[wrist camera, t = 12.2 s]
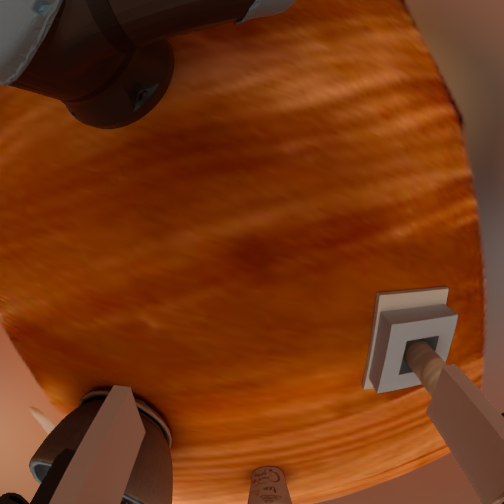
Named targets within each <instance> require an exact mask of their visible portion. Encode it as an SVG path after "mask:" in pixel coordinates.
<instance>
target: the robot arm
mask: <svg viewBox="0 0 504 504" xmlns="http://www.w3.org/2000/svg"><path fill="white" fill-rule="evenodd" d="M295 2H296V0H0V84H1V85H10V86H13V87H17V88H21V89H24V90H28V91H31V92H35V93H38V94H42V95H45V96H48V97H52V98H55V99H58V100H61V101H62V102H63V103H64V104H65V105H66V107H67V108H68V110H69V111H70V113H71V114H72V115H73V116H74V117H75V118H76V119H77V120H79V121H80V122H82V123H84V124H87V125H90V126H93V127H97V128H102V129H113V128H119V127H122V126H125V125H128V124H130V123H133V122H134V121H136V120H138V119H140V118H141V117H143V116H144V115H145V114H147V113H148V112H149V111H150V110H151V109H152V108H153V107H154V106H155V105H156V104H157V103H158V101H159V100H160V99H161V98H162V96H163V95H164V93H165V91H166V89H167V88H168V85H169V83H170V80H171V77H172V73H173V68H174V58H173V52H172V49H171V46H170V44H169V43H168V41H167V40H166V39H169V38H172V37H176V36H179V35H183V34H187V33H190V32H194V31H198V30H202V29H207V28H211V27H216V26H220V25H225V24H230V23H233V24H241V23H244V22H245V21H247V20H249V19H254V18H259V17H265V16H271V15H277V14H280V13H282V12H284V11H286V10H287V9H288V8H289V7H290V6H291V5H292V4H294V3H295ZM426 413H427V414H428V416H429V417H430V419H431V420H432V422H433V423H434V425H435V426H436V428H437V430H438V431H439V433H440V434H441V436H442V437H443V439H444V441H445V442H446V444H447V445H448V447H449V448H450V450H451V452H452V453H453V455H454V456H455V458H456V460H457V461H458V463H459V465H460V466H461V468H462V470H463V471H464V473H465V475H466V476H467V478H468V480H469V481H470V483H471V485H472V487H473V488H474V490H475V491H476V493H477V495H478V497H479V499H480V501H481V502H482V504H496V503H497V502H499V501H500V500H501V499H502V498H503V497H504V413H502V414H500V413H499V411H498V410H497V409H496V408H495V407H494V406H493V405H492V403H491V402H490V401H489V400H488V399H487V398H486V397H485V396H484V394H483V393H482V392H481V391H480V390H479V389H478V388H477V387H476V386H475V385H474V384H473V382H472V381H471V380H470V379H469V378H468V377H467V376H466V375H465V374H464V373H463V372H462V371H461V370H460V369H459V368H458V366H457V365H456V364H452V365H449V366H445V367H442V370H441V373H440V376H439V379H438V382H437V385H436V387H435V390H434V393H433V396H432V398H431V401H430V403H429V406H428V409H427V411H426ZM145 432H146V431H145V429H144V426H143V423H142V420H141V418H140V415H139V412H138V409H137V406H136V403H135V400H134V397H133V393H132V390H131V387H126V386H118V385H114V386H113V388H112V389H111V391H110V393H109V394H108V396H107V398H106V399H105V401H104V403H103V405H102V406H101V408H100V410H99V412H98V413H97V415H96V417H95V418H94V420H93V422H92V424H91V426H90V427H89V429H88V431H87V433H86V434H85V436H84V438H83V440H82V442H81V444H80V445H79V447H78V449H77V451H74V450H71V449H67V448H66V449H65V450H63V451H62V452H61V453H60V454H58V455H57V456H56V458H55V460H54V461H53V463H52V465H51V468H49V470H48V472H47V476H45V477H44V479H43V481H42V483H41V484H40V486H39V488H38V490H37V492H36V494H35V496H34V497H33V499H32V501H31V502H30V504H120V503H121V500H122V497H123V494H124V491H125V489H126V486H127V483H128V480H129V477H130V474H131V471H132V468H133V466H134V463H135V460H136V457H137V454H138V452H139V449H140V446H141V443H142V441H143V438H144V435H145ZM0 504H29V503H28V502H27V501H26V500H25V499H24V498H23V497H22V496H21V495H19V494H16V493H6V494H3V495H2V496H1V497H0ZM502 504H504V502H503V503H502Z"/></svg>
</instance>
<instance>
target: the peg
mask: <svg viewBox="0 0 504 504" xmlns="http://www.w3.org/2000/svg"><path fill="white" fill-rule="evenodd" d="M403 359H404V360H405V361H406V363H407V364H408V365H409V367H410V368H411V369H412V371H413V372H414V373H415V375H416V376H417V377H418V379H419V380H420V381H421V383H422V384H423V385H424V387H425V388H426V390H427V391H428V392H429V394H430V395H431V396H433V393H434V390H435V387H436V385H437V382H438V379H439V376H440V373H441V370H442V367H445V366H448V365H447V364H446V363H445V362H444V361H443V359H442V358H441V357H440V356H439V355H438V354H437V353H436V352H435V351H434V350H433V349H432V348H431V347H430V346H429V345H428V343H427V342H426V341H425V340H424V339H423V338H422V339H417V340H411V341H407V342H406V346H405V351H404V355H403Z"/></svg>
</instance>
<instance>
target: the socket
mask: <svg viewBox="0 0 504 504" xmlns="http://www.w3.org/2000/svg"><path fill="white" fill-rule="evenodd" d="M448 290H449V288H447V287H446V286H443V287H434V288H424V289H413V290H402V291H390V292H378V293H377V296H376V304H375V312H374V319H373V326H372V333H371V339H370V345H369V351H368V356H367V362H366V367H365V372H364V377H363V382H362V388H363V390H365V389H371V388H374V389H375V390H376V392H377V393H382V392H387V391H392V390H397V389H402V388H407V387H411V386H416V385H420V384H422V383H421V381H420V380H419V379H418V377H417V376H416V375H415V373H414V372H413V371H412V369H411V368H410V367H409V365H408V364H407V363H406V361H405V360H404V359H403V355H404V351H405V346H406V342H407V341H411V340H417V339H422V338H423V339H424V340H425V341H426V342H427V343H428V345H429V346H430V347H431V348H432V349H433V350H434V351H435V352H436V353H437V354H438V355H439V356H440V357H441V358H442V359H443V361H444V362H446V359H447V356H448V352H449V349H450V345H451V342H452V338H453V334H454V331H455V327H456V323H457V318H458V314H457V313H456V312H454V311H453V310H452V309H450V308H449V307H448V306H446V301H447V296H448Z"/></svg>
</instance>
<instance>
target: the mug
mask: <svg viewBox="0 0 504 504" xmlns="http://www.w3.org/2000/svg"><path fill="white" fill-rule="evenodd" d="M248 504H292V502H291V498H290V495H289V491H288V488H287V484H286V481H285V477H284V474H283V471H282V470H281V469H279V468H277V467H262V468H259V469H257V470H255V471H254V472H253V475H252V480H251V487H250V492H249V498H248Z"/></svg>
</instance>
